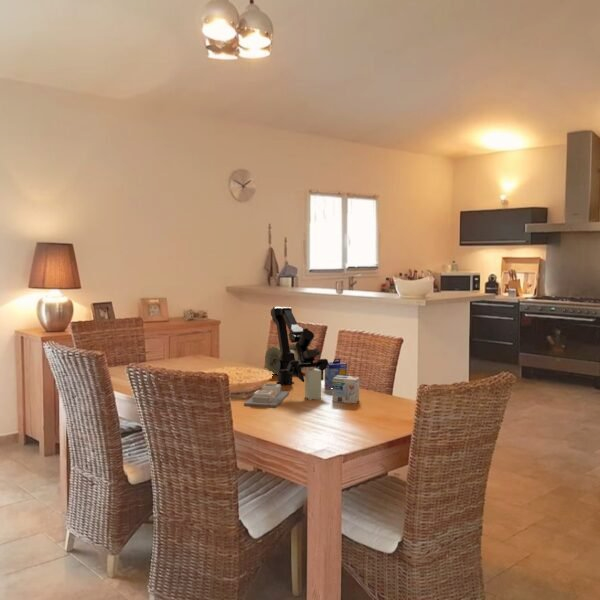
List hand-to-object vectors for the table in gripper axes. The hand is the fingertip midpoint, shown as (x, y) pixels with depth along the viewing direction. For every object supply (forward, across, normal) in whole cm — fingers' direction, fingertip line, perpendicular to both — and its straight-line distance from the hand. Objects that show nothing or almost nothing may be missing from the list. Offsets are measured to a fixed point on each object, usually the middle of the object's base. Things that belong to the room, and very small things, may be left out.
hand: (313, 380), depth 284 cm
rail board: (+2, -20, +9) cm, 22 cm away
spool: (-35, +10, +46) cm, 59 cm away
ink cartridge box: (-5, +19, +17) cm, 26 cm away
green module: (+6, 0, +6) cm, 8 cm away
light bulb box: (+13, +11, -1) cm, 17 cm away
